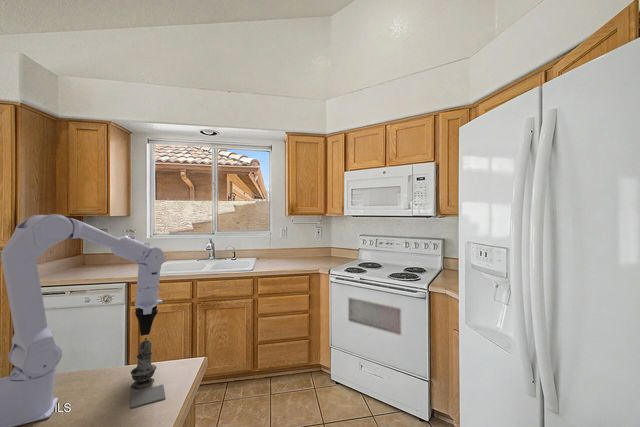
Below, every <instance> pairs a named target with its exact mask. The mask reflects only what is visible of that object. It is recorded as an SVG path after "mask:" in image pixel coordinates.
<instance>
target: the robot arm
mask: <svg viewBox="0 0 640 427" xmlns="http://www.w3.org/2000/svg"><path fill="white" fill-rule="evenodd" d="M67 239H82V240H85V241H87V242H90V243H94V244H97V245H100V246H102V247H106V248H109V249H111V252H112V254H113V255H115V256H117V257H119V258H123V259H125V260H128V261H131V262H134V263H136V264H137V265H138V266H137V267H138V268H137V270H138V271H137V278H136V280H137V282H136V293H135V302H134V307H135V309H134V310H135V312H134V313H135V314H134V315H135V316H136V319H137V321H138V325H139V334H140V336H148V335H149V336H150V332H151V330H152V326H153V322H154V319H155V317H156V315H157V314H158V311H159V310H158V309H157V308H158V306H157V305H158V304H163V299H159V292H160V291H159V290H160V280H161V279H160V278H161V277H160V276H161V269H162V265H163V263H164V262H165V260H166V256H165V253H164V251H163V250H162V248H159V247H153V246H151V245H150V243H149V242H142V241H140V240H137V239H136V237H135V236H133V235H128V236H127V235H123V236H120V237H117V236H115V235H112V234H110V233H109V232H106V231H104V230H101V229H99V228H97V227H95V226H92V225H90V224H89V223H86V222H83V221H81V220H78V219H74V218H71V217H70V218H69V217H67V216H65V215H62V214H57V213H56V214H55V213H52V214H35V215H31V216H30V217H27V218H26V219H25V220H24V221H21V222H20V223H19V224H17V225H16V227H15V230H14V232H13V234H12V235H11V236H10V238H9V240H8V241H7V242H6V244H5V246H4V247H3V249H2V250H1V251H0V260H1V264H2V271H3V276H4V282H5V288H6V292H7V293H6V294H7V298H8V299H7V300H8V304H9V309H10V316H11V321H12V327H13V332H14V334H13V336H12V338H11V344H12V345H11V349H10V351H9V353H8V362H9V363H10V364H11V365H13V366H14V367H13V369H12V371H11V372H10V374H9V375H7V376H3V377H0V427H17V426H21V425H26V424H28V423H33V422H37V421H42V420H46V419H49V418H50V417H52V413H53V411H54V409H55V407H56V405H57V404H58V403H57V402H58V401H59V397H54V394H55V393H54V392H55V383H56V373H57V372H56V370H57V366H58V364H59V363H60V362H61V360H62V356H63V352H62V351H63V350H62V349H61V347H60V346H58V345H57V344H56V342H55V339H54V336H53V335H54V334H53V333H52V332H51V330H50V328H49V326H48V322H47V316H46V309H45V304H44V298H43V293H42V291H43V290H42V286H41V280H40V274H39V268H38V262H37V258H39V257H40V256H41V255H42V254H43V253H44V252H46V251H47V249H49V248H50V247H52V246H55V245H56V244H59V243H61V242H63V241H65V240H67Z"/></svg>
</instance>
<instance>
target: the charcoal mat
mask: <svg viewBox="0 0 640 427" xmlns="http://www.w3.org/2000/svg"><path fill="white" fill-rule="evenodd" d="M164 400H166V392H165V387H164V384H159V385H156V386H151V387H146V388H142V389H138V390H136V391H131V392H130V409H134V408H137V407H141V406H146V405H149V404H152V403H157V402H159V401H164Z"/></svg>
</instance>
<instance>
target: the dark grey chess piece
mask: <svg viewBox="0 0 640 427" xmlns="http://www.w3.org/2000/svg"><path fill="white" fill-rule="evenodd" d="M152 355H153V352H152V341H151V340H148V338H147V337H145V338H144V340H143V341H141V342H140V343H139V347H138V354H137V356H136V358H137V365H136V367H135V368H132V370H130V375H131V378H132V380H133V381H134V382H132V384H131V385H130V388H131V389H133V390H143V389H146V388H149V387H150V386H152V385H153V384H154V383H155V379H154V378H152V377H153V376H154V374H155V372H156V370H157V366H156V365H155V364H152Z"/></svg>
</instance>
